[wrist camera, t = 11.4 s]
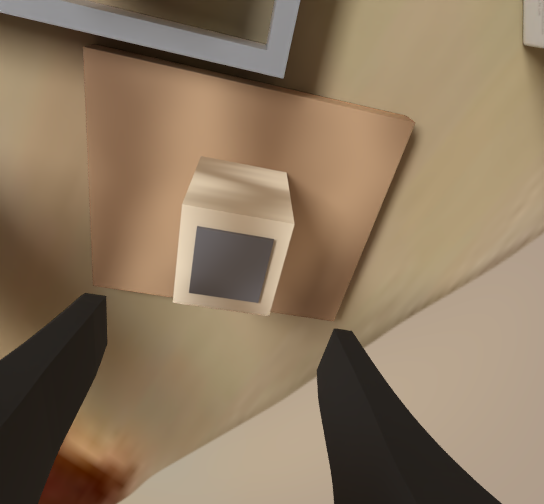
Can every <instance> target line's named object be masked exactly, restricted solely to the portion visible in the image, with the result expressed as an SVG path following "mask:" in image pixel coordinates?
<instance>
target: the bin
mask: <svg viewBox="0 0 544 504" xmlns="http://www.w3.org/2000/svg"><path fill="white" fill-rule="evenodd" d="M299 4H300V0H274V5H273V11H272V16H271V22H270V27H269V32H268V38H267V43H266V44H263V43H259V42H255V41H251V40H247V39H243V38H238V37H234V36H230V35H226V34H222V33H218V32H214V31H210V30H206V29H202V28H198V27H194V26H189V25H185V24H181V23H177V22H173V21H169V20H165V19H161V18H157V17H153V16H149V15H145V14H140V13H136V12H132V11H128V10H124V9H120V8H116V7H112V6H108V5H104V4H100V3H96V2H91V1H87V0H0V12H1V13H5V14H9V15H13V16H18V17H22V18H26V19H31V20H35V21H39V22H43V23H48V24H52V25H56V26H60V27H65V28H69V29H73V30H78V31H82V32H86V33H90V34H95V35H99V36H103V37H108V38H112V39H116V40H120V41H125V42H129V43H133V44H137V45H142V46H146V47H150V48H155V49H159V50H163V51H167V52H172V53H176V54H180V55H184V56H189V57H193V58H197V59H202V60H206V61H210V62H214V63H219V64H223V65H227V66H232V67H236V68H240V69H244V70H249V71H253V72H257V73H261V74H266V75H270V76H274V77H279V78H284V74H285V69H286V64H287V60H288V55H289V51H290V46H291V41H292V37H293V32H294V27H295V23H296V18H297V13H298V9H299Z"/></svg>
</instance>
